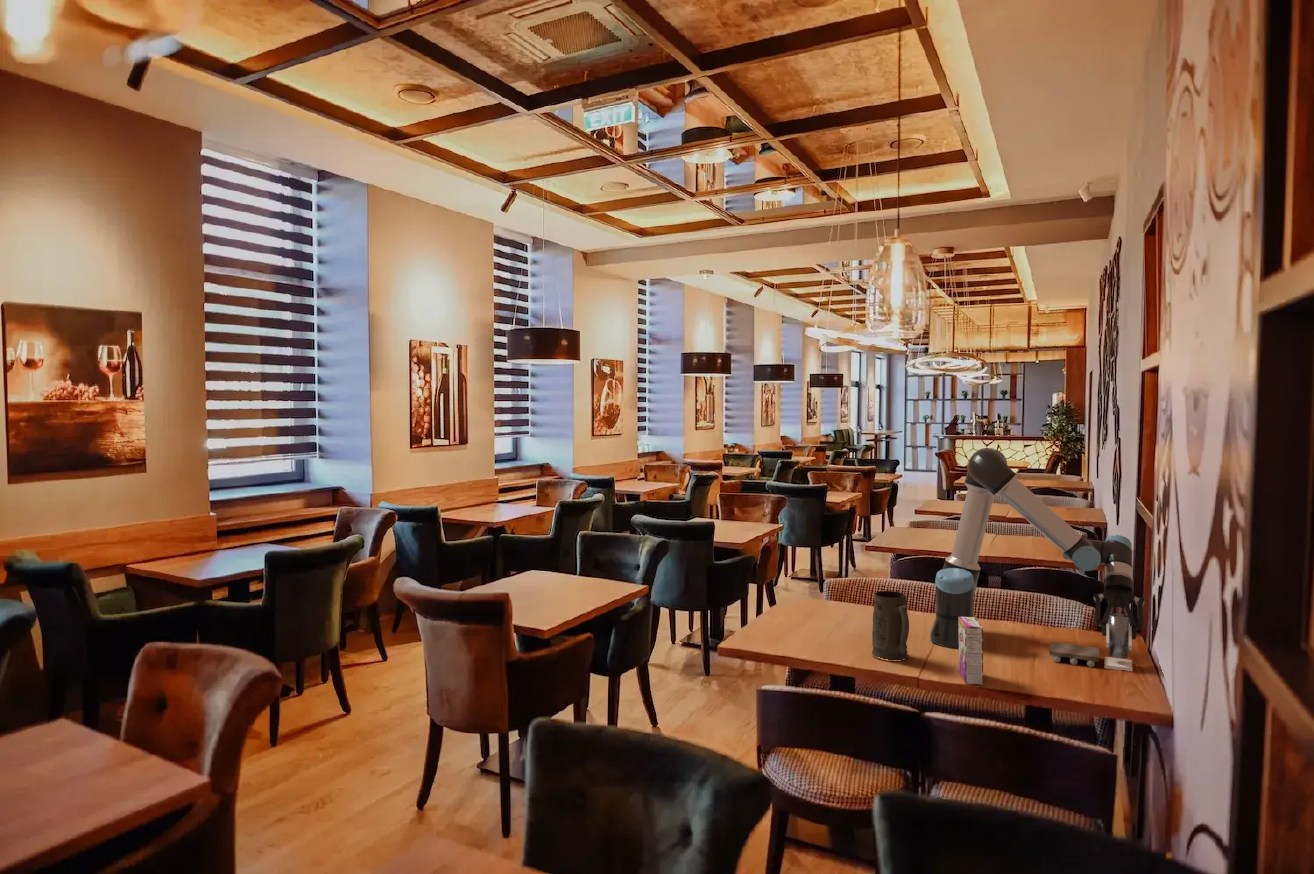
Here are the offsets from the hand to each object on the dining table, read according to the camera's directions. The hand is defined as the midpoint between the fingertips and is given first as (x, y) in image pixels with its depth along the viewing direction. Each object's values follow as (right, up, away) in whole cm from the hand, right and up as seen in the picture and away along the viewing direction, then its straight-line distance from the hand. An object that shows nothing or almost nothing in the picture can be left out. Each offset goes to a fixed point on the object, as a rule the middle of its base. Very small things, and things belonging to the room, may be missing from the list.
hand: (1118, 646), depth 227 cm
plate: (+2, -7, +3) cm, 8 cm away
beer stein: (-62, -7, +12) cm, 64 cm away
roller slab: (-8, -7, +9) cm, 14 cm away
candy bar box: (-46, -8, -7) cm, 47 cm away
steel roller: (+2, -4, +3) cm, 5 cm away
